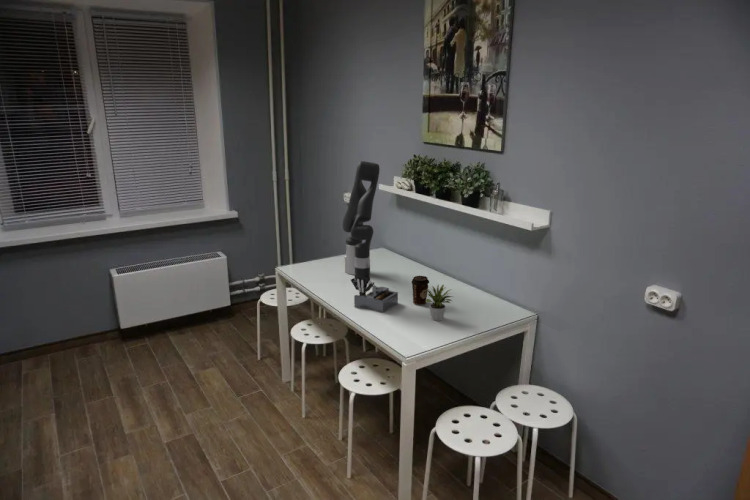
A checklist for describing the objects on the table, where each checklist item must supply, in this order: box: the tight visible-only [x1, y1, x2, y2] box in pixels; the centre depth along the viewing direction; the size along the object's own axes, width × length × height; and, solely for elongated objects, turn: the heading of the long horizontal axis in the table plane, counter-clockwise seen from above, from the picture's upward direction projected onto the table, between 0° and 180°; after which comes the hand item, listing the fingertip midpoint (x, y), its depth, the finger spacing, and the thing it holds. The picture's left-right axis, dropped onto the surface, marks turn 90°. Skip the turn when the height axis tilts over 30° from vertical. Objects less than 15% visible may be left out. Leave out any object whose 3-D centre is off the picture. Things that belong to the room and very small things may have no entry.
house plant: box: [424, 283, 453, 322], centre depth 222 cm, size 14×14×16 cm
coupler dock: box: [353, 284, 399, 313], centre depth 240 cm, size 16×17×9 cm
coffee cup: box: [411, 275, 430, 306], centre depth 241 cm, size 9×8×13 cm
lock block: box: [365, 291, 385, 300], centre depth 242 cm, size 8×9×4 cm
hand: (362, 298), depth 245 cm, fingers closed
